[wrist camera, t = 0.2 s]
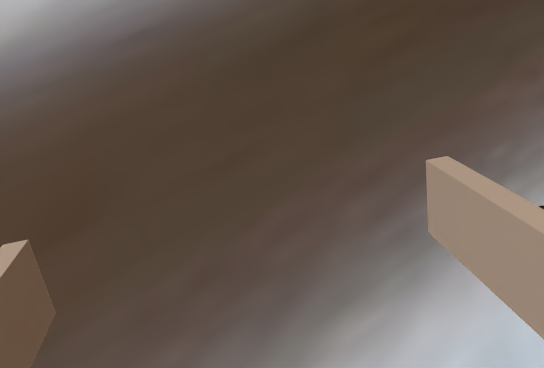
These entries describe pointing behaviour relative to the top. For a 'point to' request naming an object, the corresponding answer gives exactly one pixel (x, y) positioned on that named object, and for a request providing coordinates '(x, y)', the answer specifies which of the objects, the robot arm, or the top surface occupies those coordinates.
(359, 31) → the top surface
